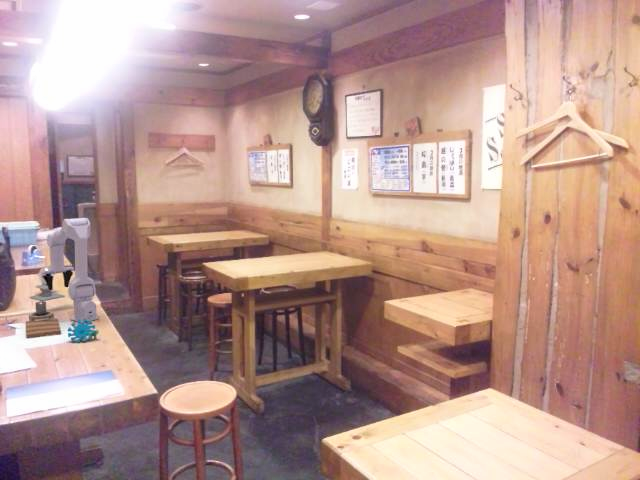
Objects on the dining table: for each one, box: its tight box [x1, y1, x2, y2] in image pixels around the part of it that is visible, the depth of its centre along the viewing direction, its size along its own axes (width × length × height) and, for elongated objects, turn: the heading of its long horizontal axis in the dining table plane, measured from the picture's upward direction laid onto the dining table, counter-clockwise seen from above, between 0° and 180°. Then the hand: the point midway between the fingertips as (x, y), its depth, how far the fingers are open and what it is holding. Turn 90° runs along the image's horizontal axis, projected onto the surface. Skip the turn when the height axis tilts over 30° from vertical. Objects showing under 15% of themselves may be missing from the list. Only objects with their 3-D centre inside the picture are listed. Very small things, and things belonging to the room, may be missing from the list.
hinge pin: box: [35, 301, 47, 316], centre depth 231 cm, size 4×4×8 cm
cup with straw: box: [34, 255, 56, 292], centre depth 280 cm, size 8×9×20 cm
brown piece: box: [25, 310, 62, 339], centre depth 223 cm, size 29×12×3 cm, turn 29°
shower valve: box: [29, 284, 66, 302], centre depth 273 cm, size 12×6×15 cm
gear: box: [67, 319, 100, 343], centre depth 207 cm, size 11×6×10 cm
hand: (58, 288), depth 251 cm, fingers open, 7 cm apart
